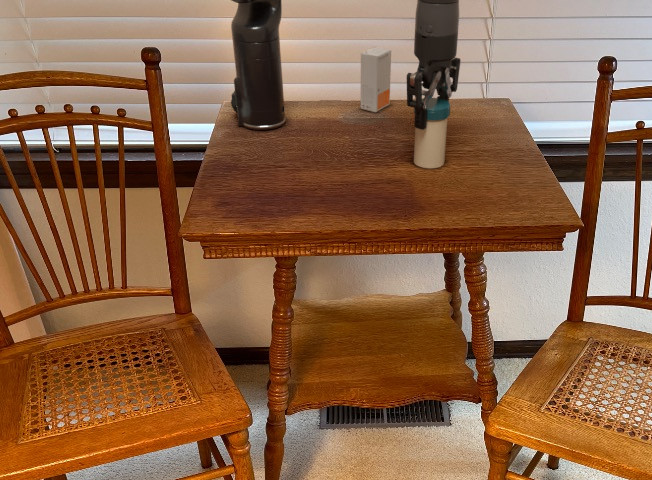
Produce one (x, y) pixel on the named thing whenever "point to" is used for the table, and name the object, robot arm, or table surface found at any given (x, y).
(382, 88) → the cosmetic box
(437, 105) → the jam lid
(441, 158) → the white jar
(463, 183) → the table surface
